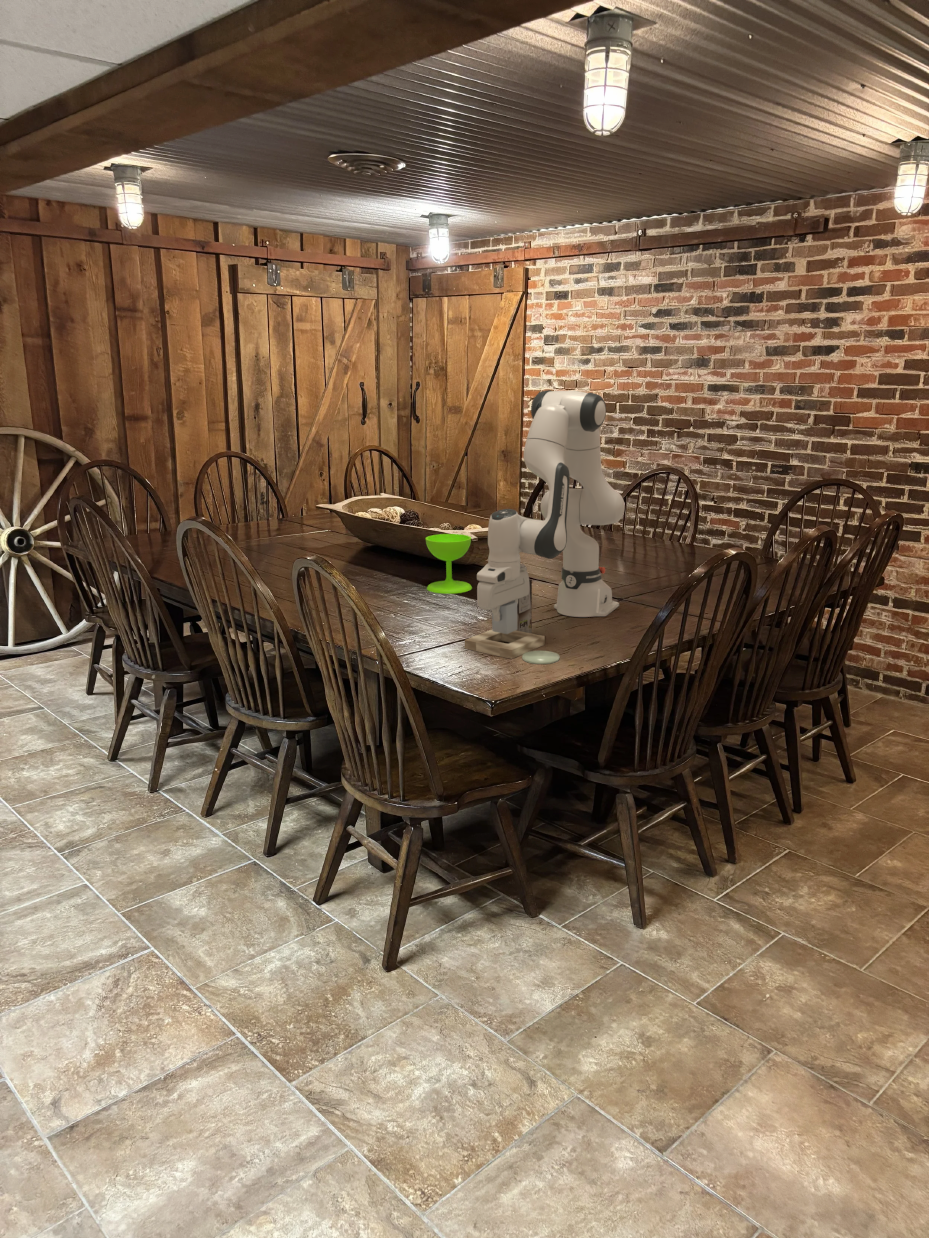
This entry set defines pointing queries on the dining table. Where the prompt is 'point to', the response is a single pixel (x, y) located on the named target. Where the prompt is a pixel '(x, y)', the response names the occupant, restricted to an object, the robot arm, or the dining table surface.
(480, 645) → the pocket board
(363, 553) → the dining table surface
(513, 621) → the block
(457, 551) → the wineglass
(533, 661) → the pad
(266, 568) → the dining table surface
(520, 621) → the coffee box
